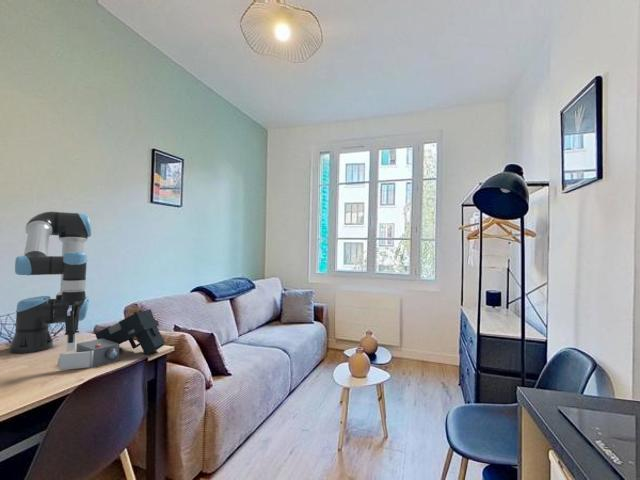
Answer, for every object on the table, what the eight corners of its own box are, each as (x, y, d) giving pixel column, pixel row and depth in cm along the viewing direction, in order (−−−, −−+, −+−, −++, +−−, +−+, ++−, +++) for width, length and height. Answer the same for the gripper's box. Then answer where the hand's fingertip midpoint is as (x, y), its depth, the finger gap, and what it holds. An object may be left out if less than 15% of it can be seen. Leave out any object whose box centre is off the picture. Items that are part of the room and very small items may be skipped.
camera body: (75, 360, 139) (76, 341, 139) (101, 354, 148) (102, 336, 148) (95, 368, 131) (96, 348, 131) (121, 361, 140) (122, 342, 140)
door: (93, 365, 133) (94, 349, 133) (92, 367, 131) (93, 351, 131) (58, 369, 128) (59, 352, 129) (57, 371, 127) (58, 354, 127)
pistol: (154, 350, 146) (138, 309, 148) (107, 372, 151) (92, 331, 153) (168, 344, 156) (153, 305, 158) (124, 365, 160) (109, 327, 162)
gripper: (66, 289, 136) (64, 346, 136) (57, 293, 125) (54, 356, 124) (88, 288, 140) (86, 345, 139) (81, 292, 128) (78, 354, 127)
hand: (71, 350), depth 131 cm, fingers closed
